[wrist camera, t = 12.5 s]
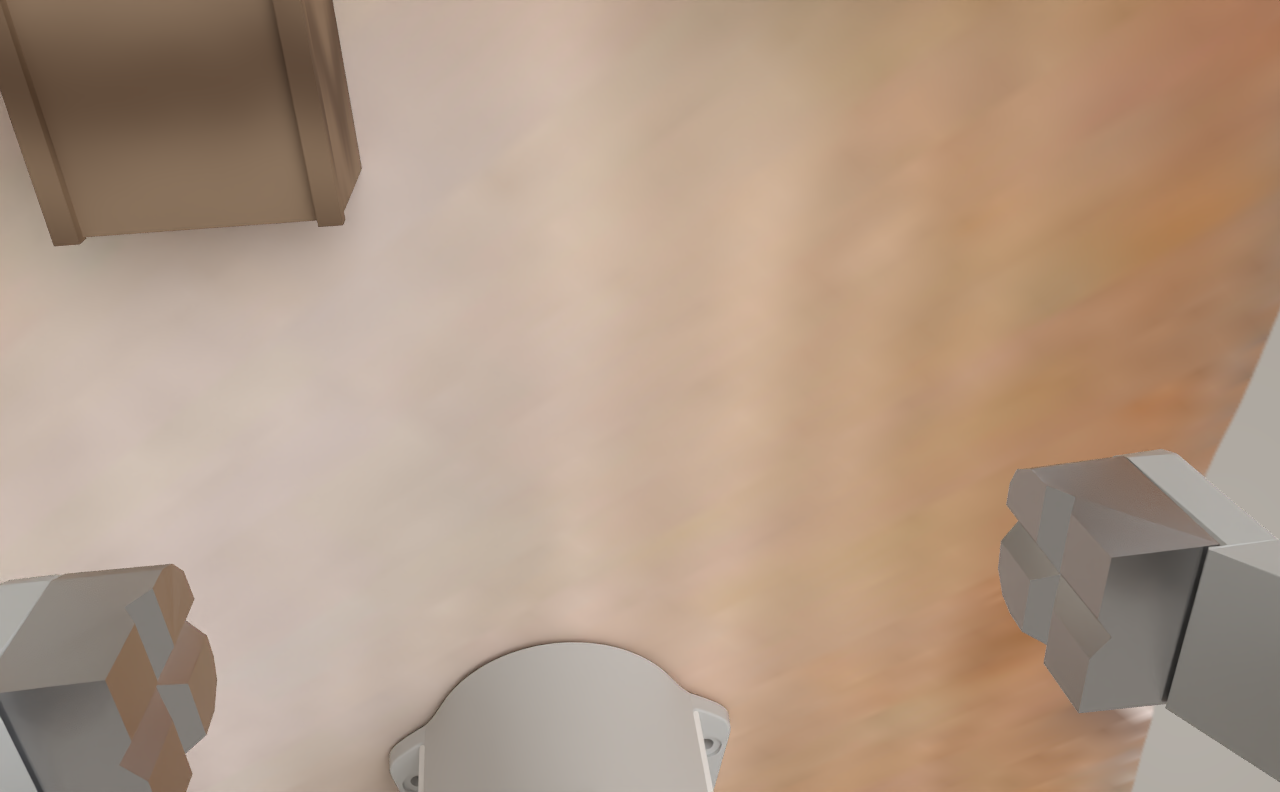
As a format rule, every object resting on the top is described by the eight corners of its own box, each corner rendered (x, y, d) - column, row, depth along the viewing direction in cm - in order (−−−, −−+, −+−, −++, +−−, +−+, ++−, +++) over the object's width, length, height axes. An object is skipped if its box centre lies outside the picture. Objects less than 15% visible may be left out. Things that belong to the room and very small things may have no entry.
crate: (364, 170, 38) (342, 225, 33) (119, 187, 37) (54, 246, 32) (319, -92, 34) (284, -81, 28) (38, -80, 33) (-54, -66, 27)
